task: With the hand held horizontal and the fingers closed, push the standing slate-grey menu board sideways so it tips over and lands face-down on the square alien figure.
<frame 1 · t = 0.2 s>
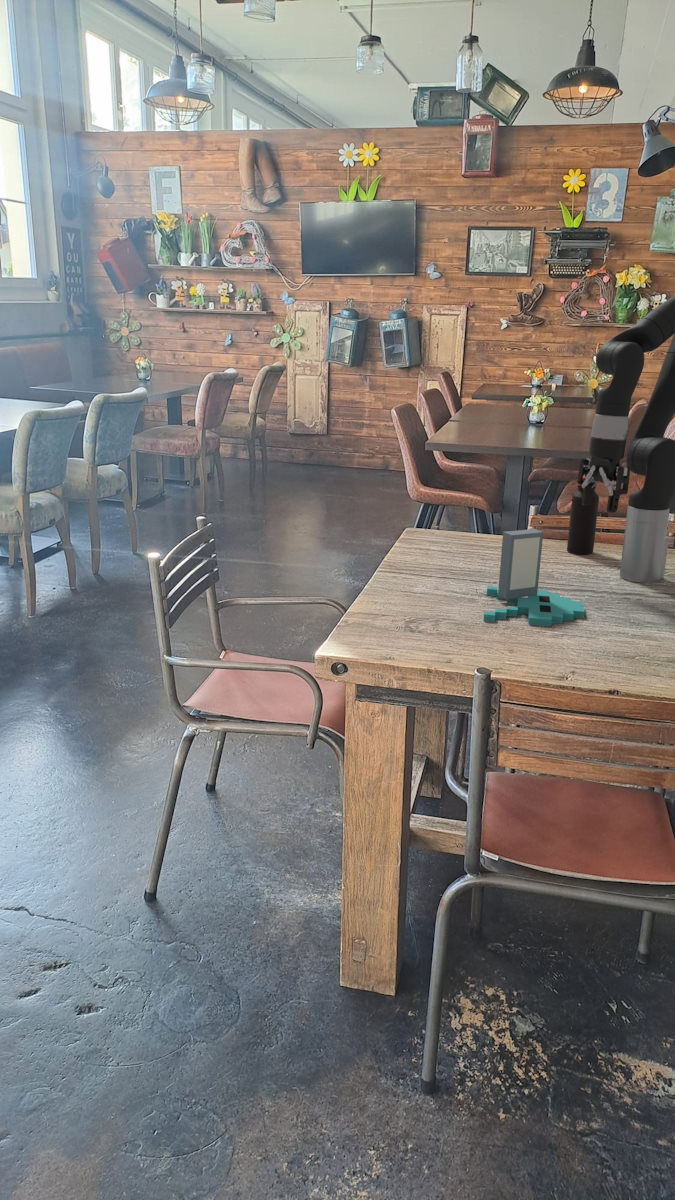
hand: (598, 508, 193), 18 cm above the table, tool pointing down, fingers open, 8 cm apart
bottle: (579, 552, 226), on the table
menu board: (517, 595, 184), point 1 cm above the table, touching alien figure
alien figure: (533, 613, 180), on the table, touching menu board
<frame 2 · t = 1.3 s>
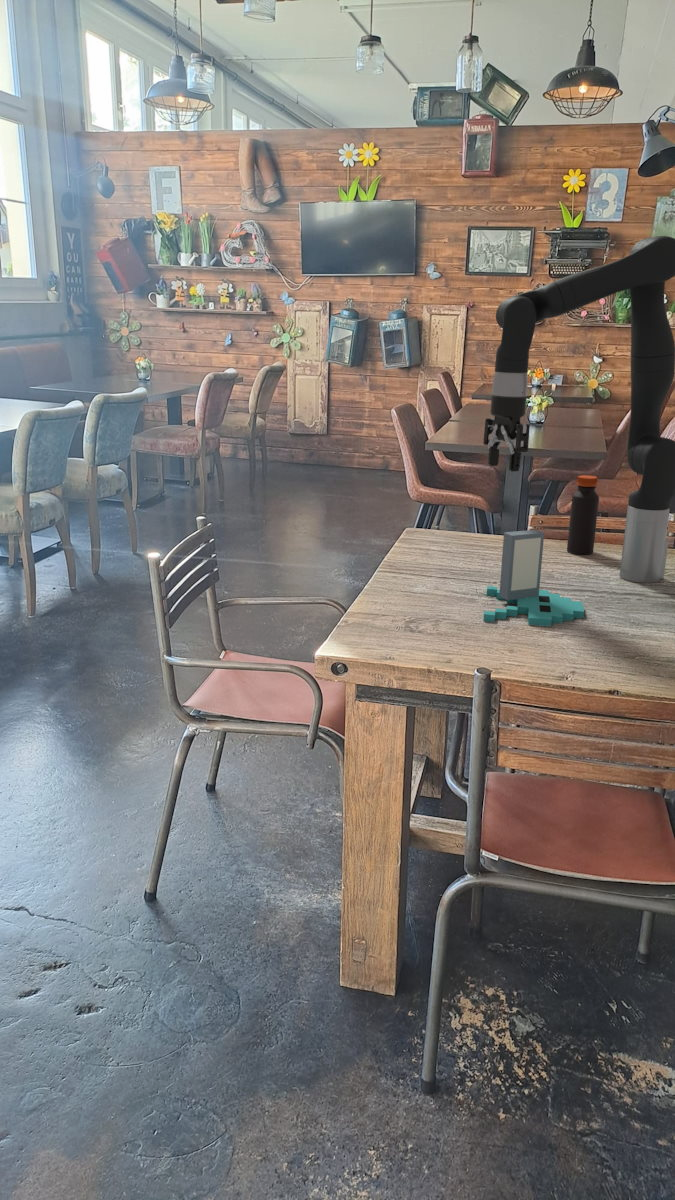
hand: (503, 468, 191), 26 cm above the table, tool pointing down, fingers open, 8 cm apart
nothing on the table moved.
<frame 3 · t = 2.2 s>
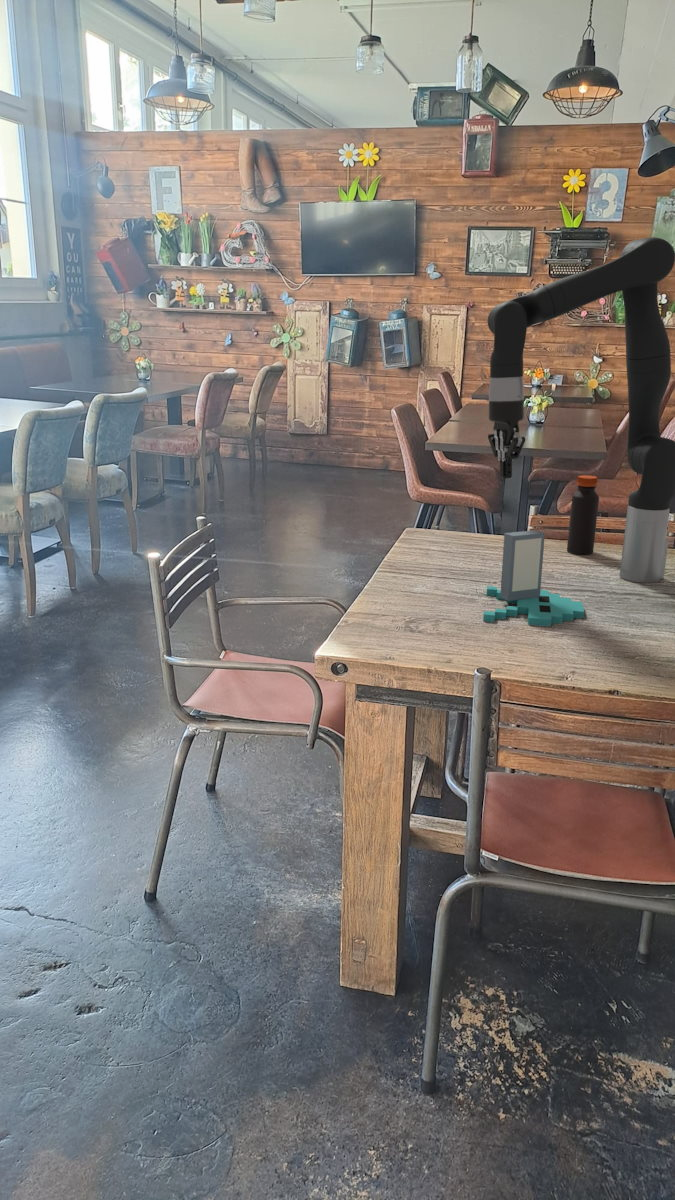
hand: (505, 477, 191), 24 cm above the table, tool pointing down, fingers closed
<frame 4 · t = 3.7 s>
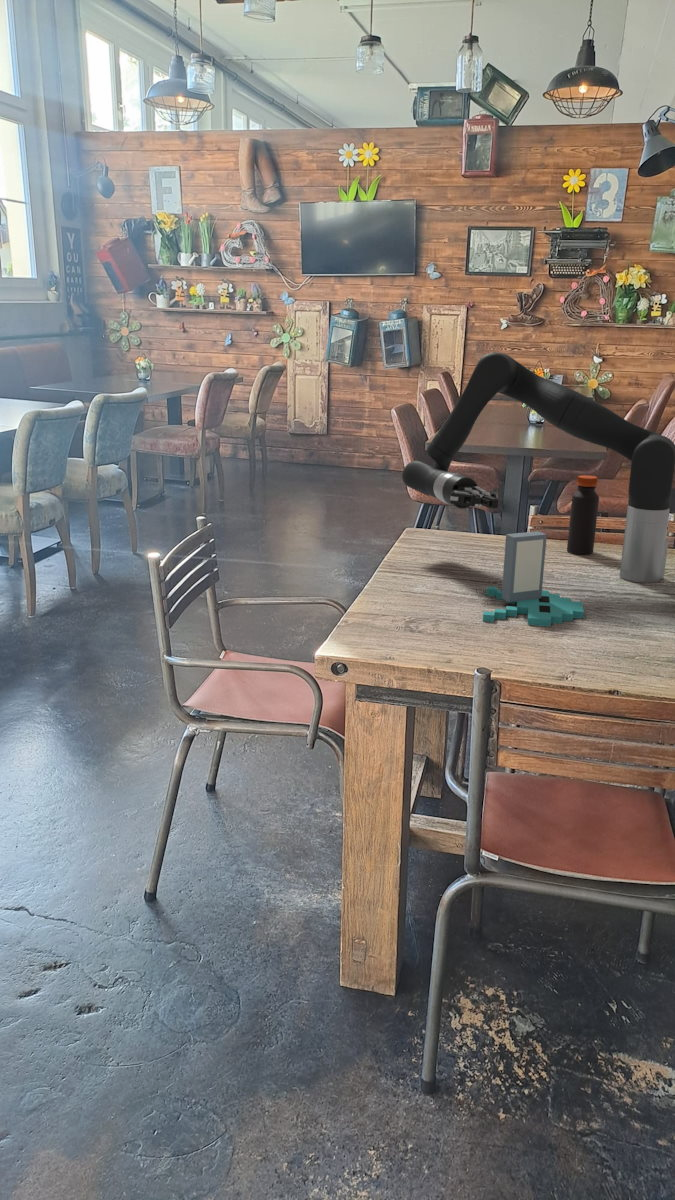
hand: (495, 504, 189), 19 cm above the table, tool horizontal, fingers closed
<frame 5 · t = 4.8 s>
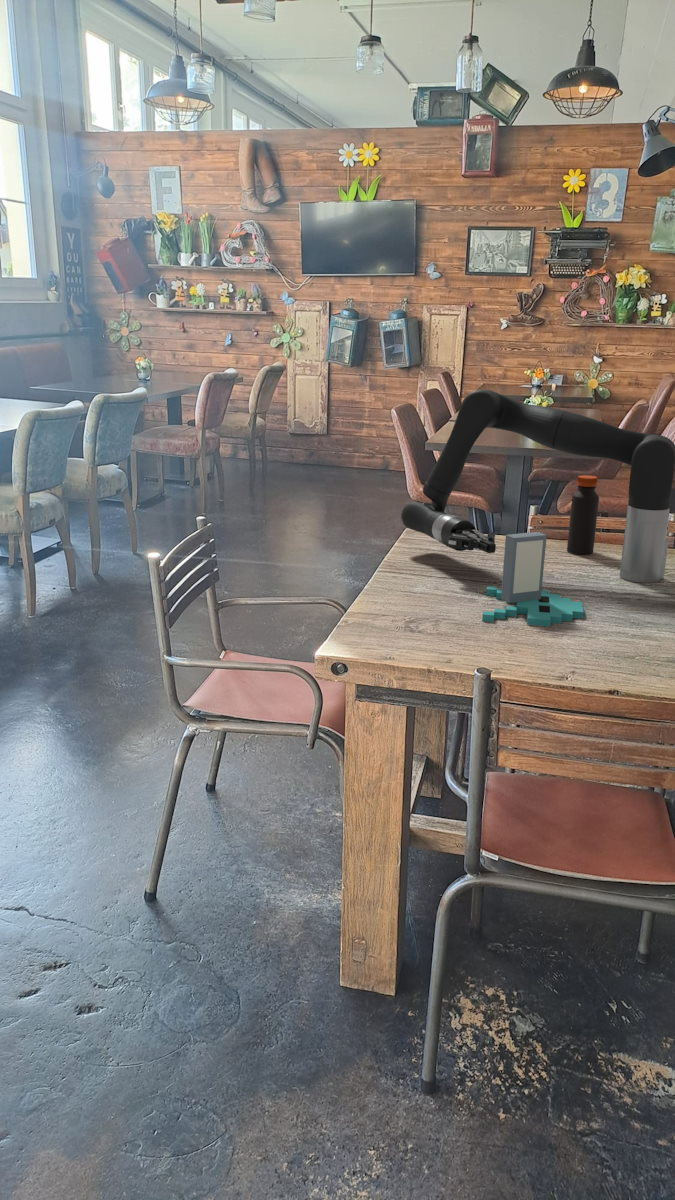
hand: (492, 548, 192), 9 cm above the table, tool horizontal, fingers closed
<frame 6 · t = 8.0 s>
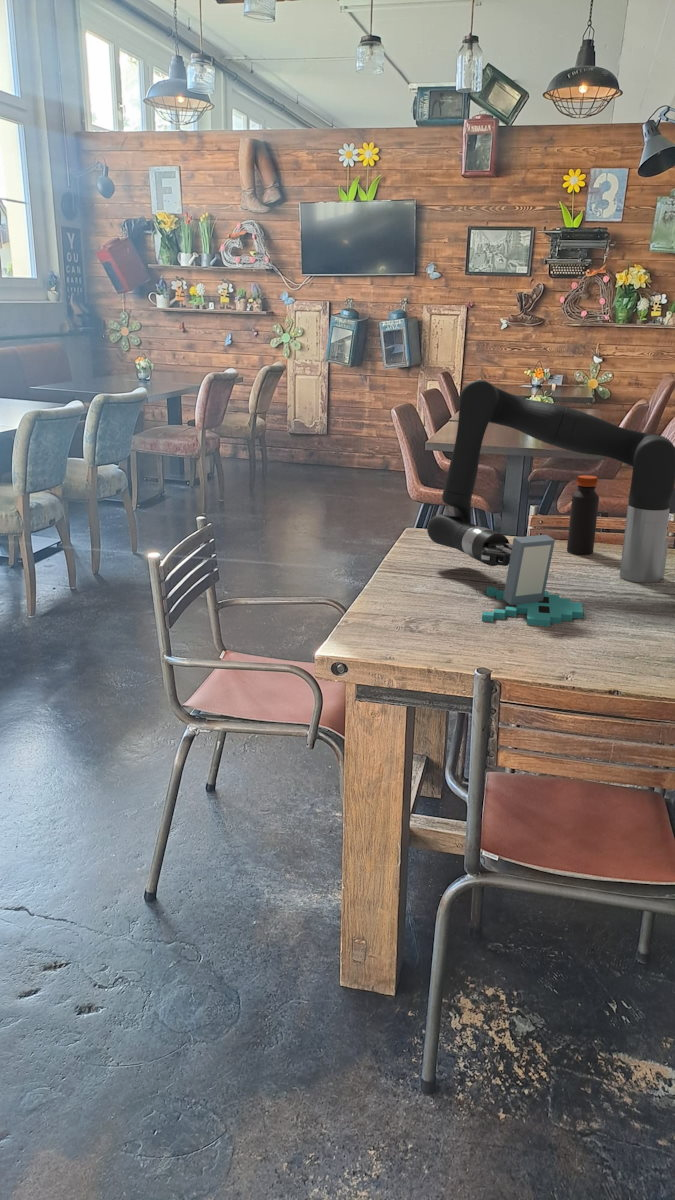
hand: (529, 564, 179), 9 cm above the table, tool horizontal, fingers closed
menu board: (523, 599, 181), point 2 cm above the table, tilted 9°, touching alien figure
everything else where it was.
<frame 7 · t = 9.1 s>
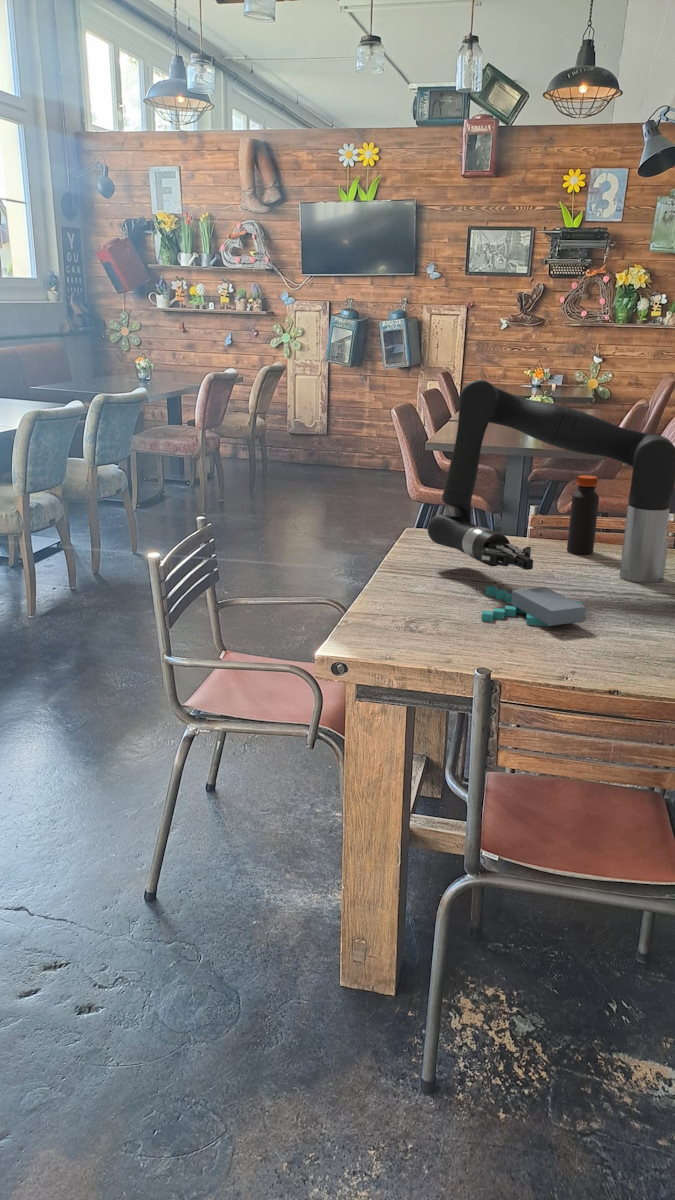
hand: (529, 564, 179), 9 cm above the table, tool horizontal, fingers closed
menu board: (528, 595, 179), point 3 cm above the table, tilted 90°, touching alien figure
everything else where it was.
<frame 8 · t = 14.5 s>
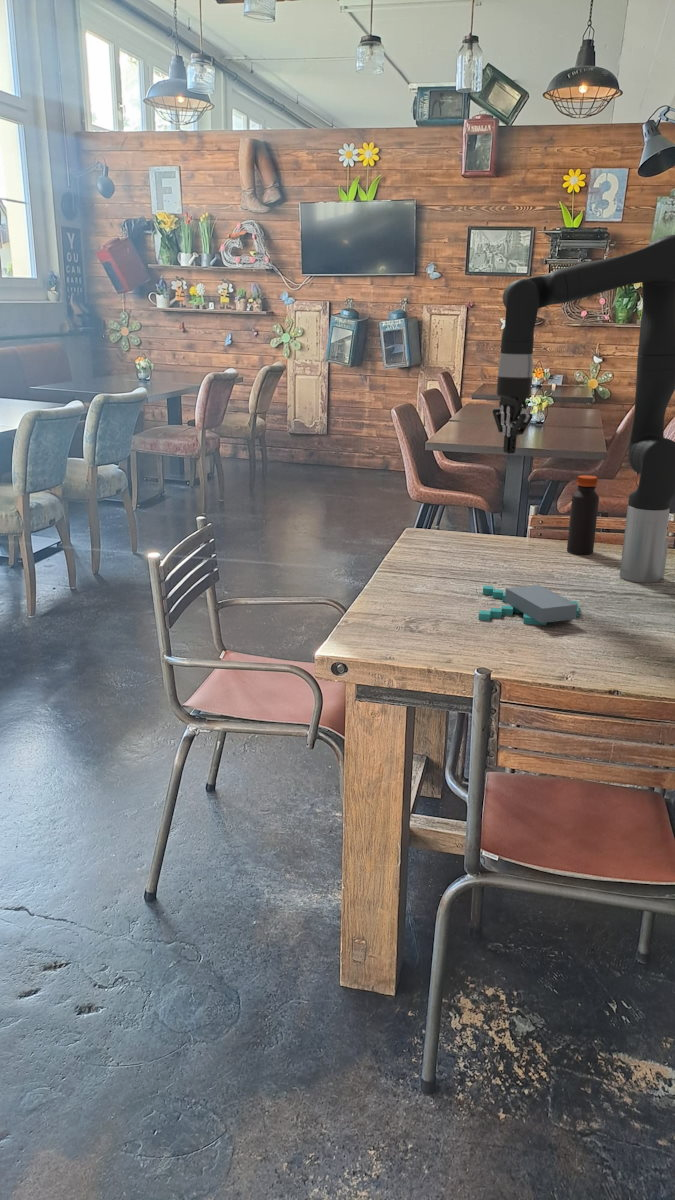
hand: (509, 452, 196), 29 cm above the table, tool pointing down, fingers closed
menu board: (522, 593, 181), point 3 cm above the table, tilted 90°, touching alien figure
at the end: menu board tilted 90°; menu board inside the target area on the alien figure (2.1 cm from its centre), point 4.0 cm above the alien figure's base; the gripper is holding nothing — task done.
